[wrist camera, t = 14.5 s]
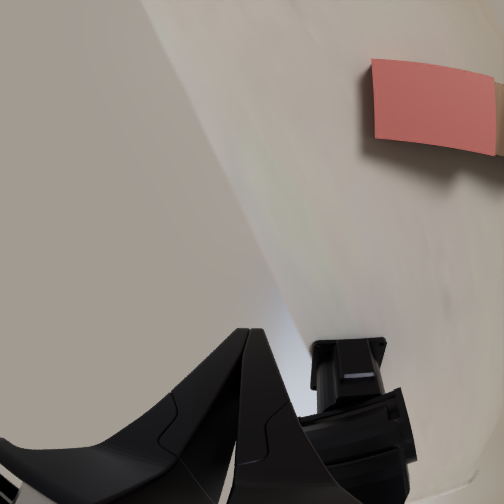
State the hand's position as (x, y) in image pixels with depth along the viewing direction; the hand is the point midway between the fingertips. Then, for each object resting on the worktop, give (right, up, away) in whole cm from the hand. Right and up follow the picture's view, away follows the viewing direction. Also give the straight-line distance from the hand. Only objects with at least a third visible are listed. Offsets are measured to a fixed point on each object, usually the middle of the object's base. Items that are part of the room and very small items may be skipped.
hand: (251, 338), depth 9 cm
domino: (+7, +12, +6) cm, 15 cm away
